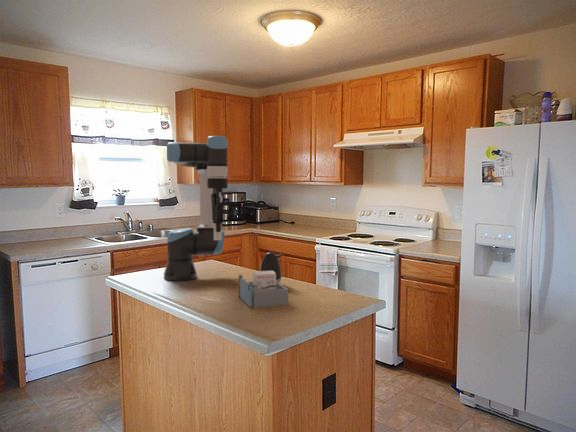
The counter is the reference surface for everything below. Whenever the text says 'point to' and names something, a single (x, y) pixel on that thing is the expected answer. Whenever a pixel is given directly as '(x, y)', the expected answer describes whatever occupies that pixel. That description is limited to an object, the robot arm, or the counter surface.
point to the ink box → (264, 281)
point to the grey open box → (269, 296)
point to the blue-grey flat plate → (246, 292)
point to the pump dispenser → (272, 264)
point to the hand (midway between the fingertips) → (217, 239)
